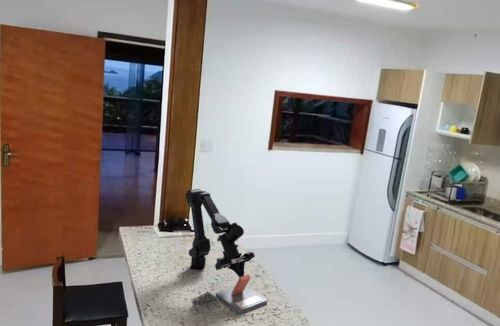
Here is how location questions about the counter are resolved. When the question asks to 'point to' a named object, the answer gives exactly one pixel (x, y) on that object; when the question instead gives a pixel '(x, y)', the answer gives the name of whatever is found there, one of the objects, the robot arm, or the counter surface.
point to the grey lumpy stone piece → (207, 305)
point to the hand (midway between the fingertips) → (242, 279)
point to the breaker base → (241, 299)
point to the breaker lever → (241, 284)
